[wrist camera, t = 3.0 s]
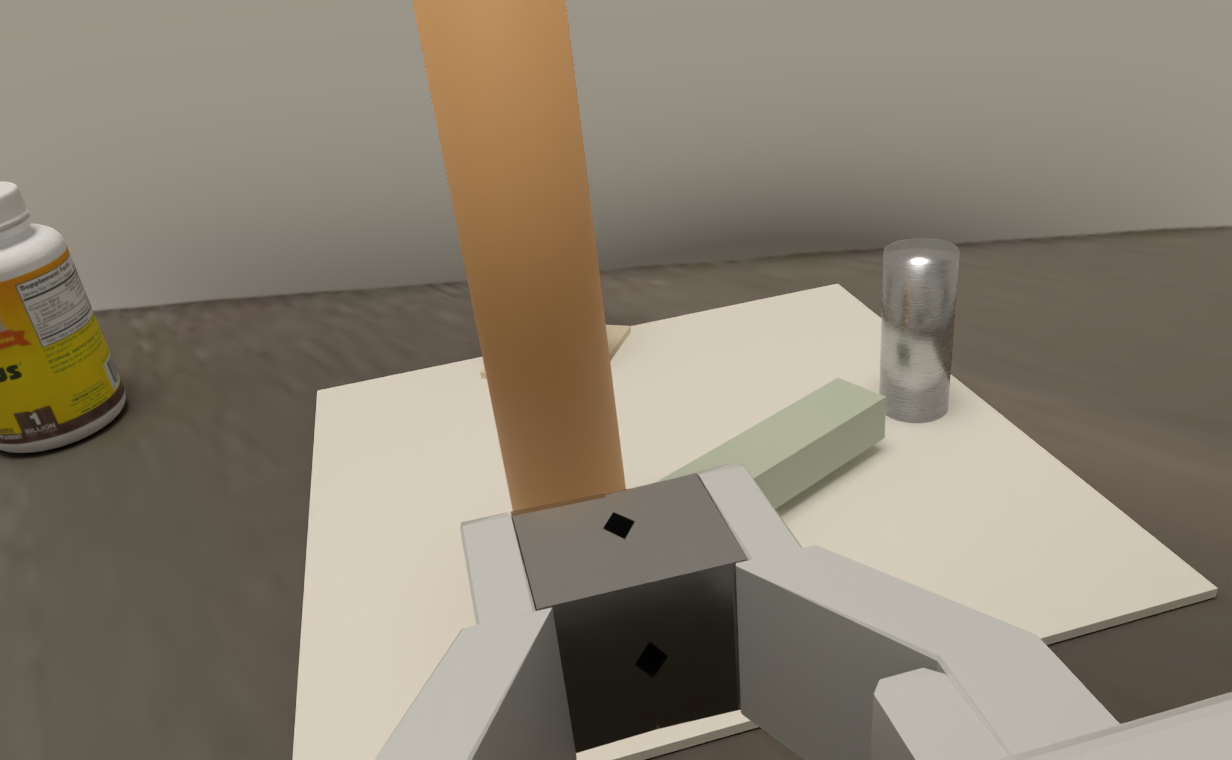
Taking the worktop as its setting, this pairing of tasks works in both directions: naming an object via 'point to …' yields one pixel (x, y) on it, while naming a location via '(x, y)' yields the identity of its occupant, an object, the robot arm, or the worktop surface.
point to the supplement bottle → (48, 340)
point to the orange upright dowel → (569, 269)
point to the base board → (661, 444)
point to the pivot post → (917, 328)
